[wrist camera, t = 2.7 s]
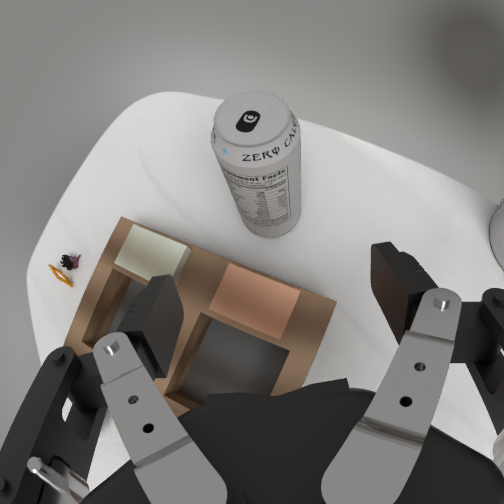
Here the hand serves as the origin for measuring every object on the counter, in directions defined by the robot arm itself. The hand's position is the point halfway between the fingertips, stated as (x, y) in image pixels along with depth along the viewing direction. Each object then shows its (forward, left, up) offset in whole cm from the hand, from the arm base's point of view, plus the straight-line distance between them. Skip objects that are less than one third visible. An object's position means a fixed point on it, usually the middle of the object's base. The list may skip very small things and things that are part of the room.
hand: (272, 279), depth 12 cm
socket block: (+5, -8, -18) cm, 20 cm away
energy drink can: (-10, -6, -18) cm, 21 cm away
